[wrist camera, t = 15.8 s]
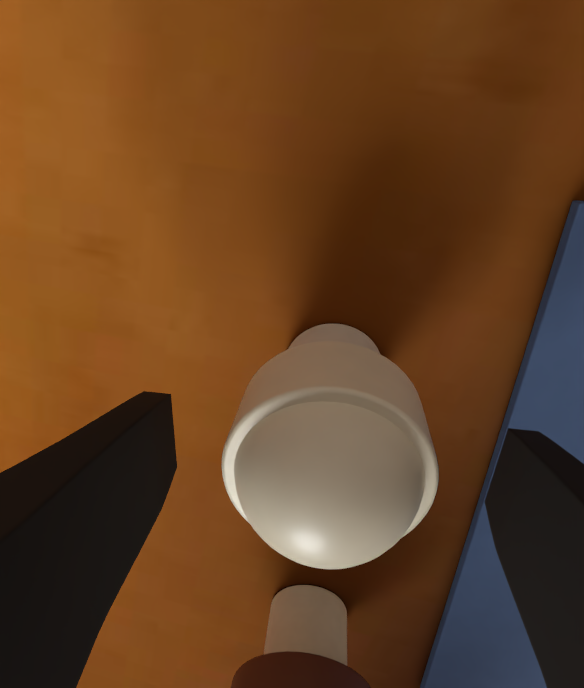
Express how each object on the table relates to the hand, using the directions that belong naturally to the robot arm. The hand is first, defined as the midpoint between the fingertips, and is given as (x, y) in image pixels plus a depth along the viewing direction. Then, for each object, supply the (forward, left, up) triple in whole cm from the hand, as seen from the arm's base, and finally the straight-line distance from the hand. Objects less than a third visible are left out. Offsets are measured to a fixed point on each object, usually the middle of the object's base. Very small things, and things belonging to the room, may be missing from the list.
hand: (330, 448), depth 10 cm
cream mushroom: (0, 0, -3) cm, 3 cm away
